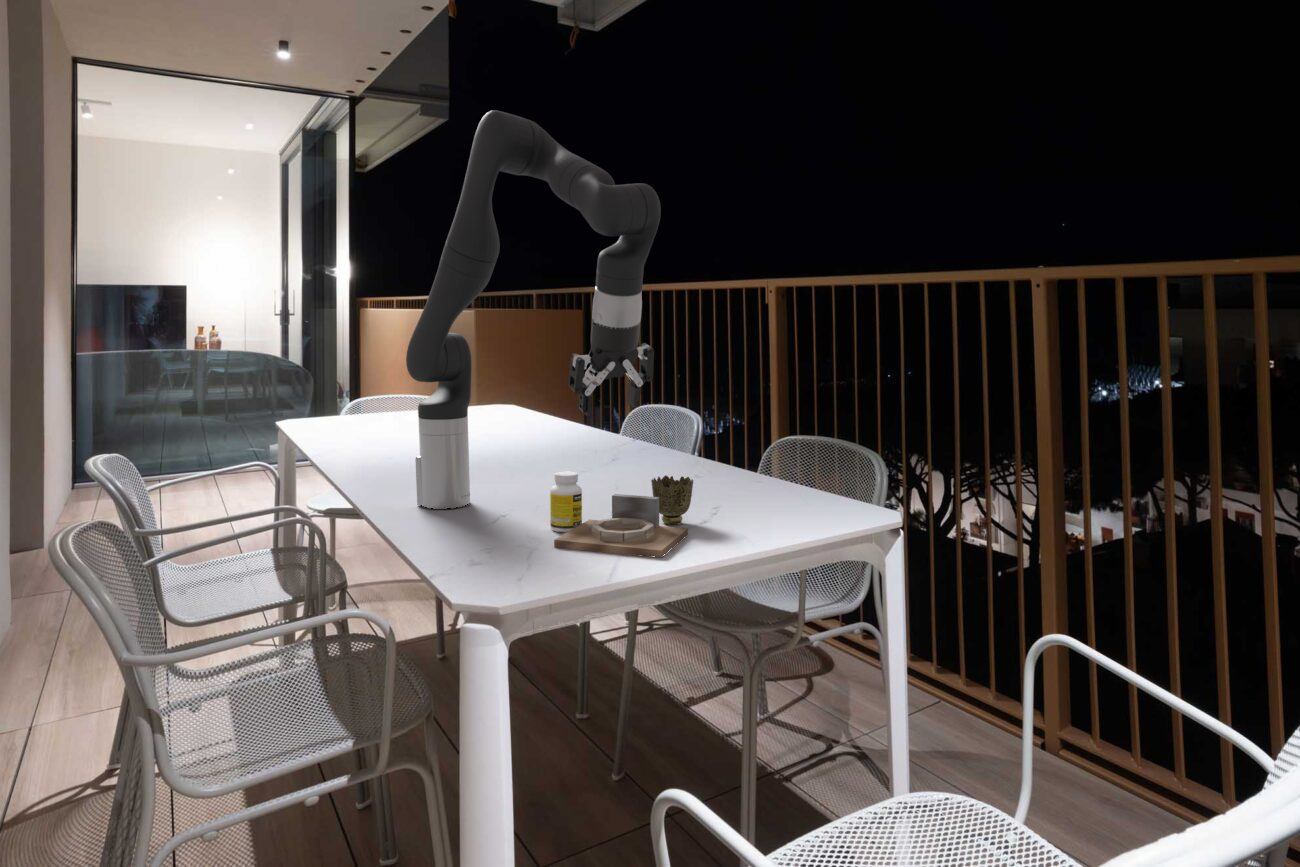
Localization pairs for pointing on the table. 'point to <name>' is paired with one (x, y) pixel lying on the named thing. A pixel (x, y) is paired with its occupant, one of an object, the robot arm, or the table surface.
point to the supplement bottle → (565, 502)
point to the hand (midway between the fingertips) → (609, 408)
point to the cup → (672, 497)
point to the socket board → (625, 530)
